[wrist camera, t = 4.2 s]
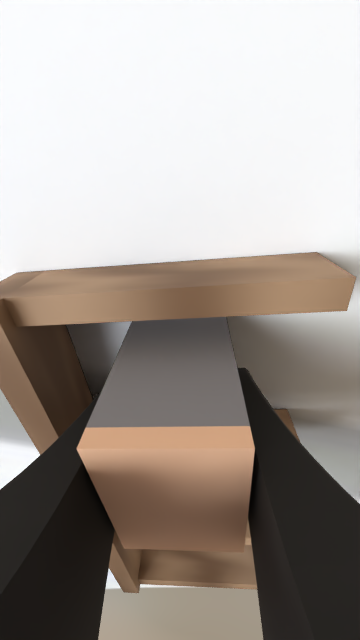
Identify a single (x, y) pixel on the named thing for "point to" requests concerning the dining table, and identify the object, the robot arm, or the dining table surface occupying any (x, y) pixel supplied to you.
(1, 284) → the divider rack
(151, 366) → the tan box
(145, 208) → the dining table surface
